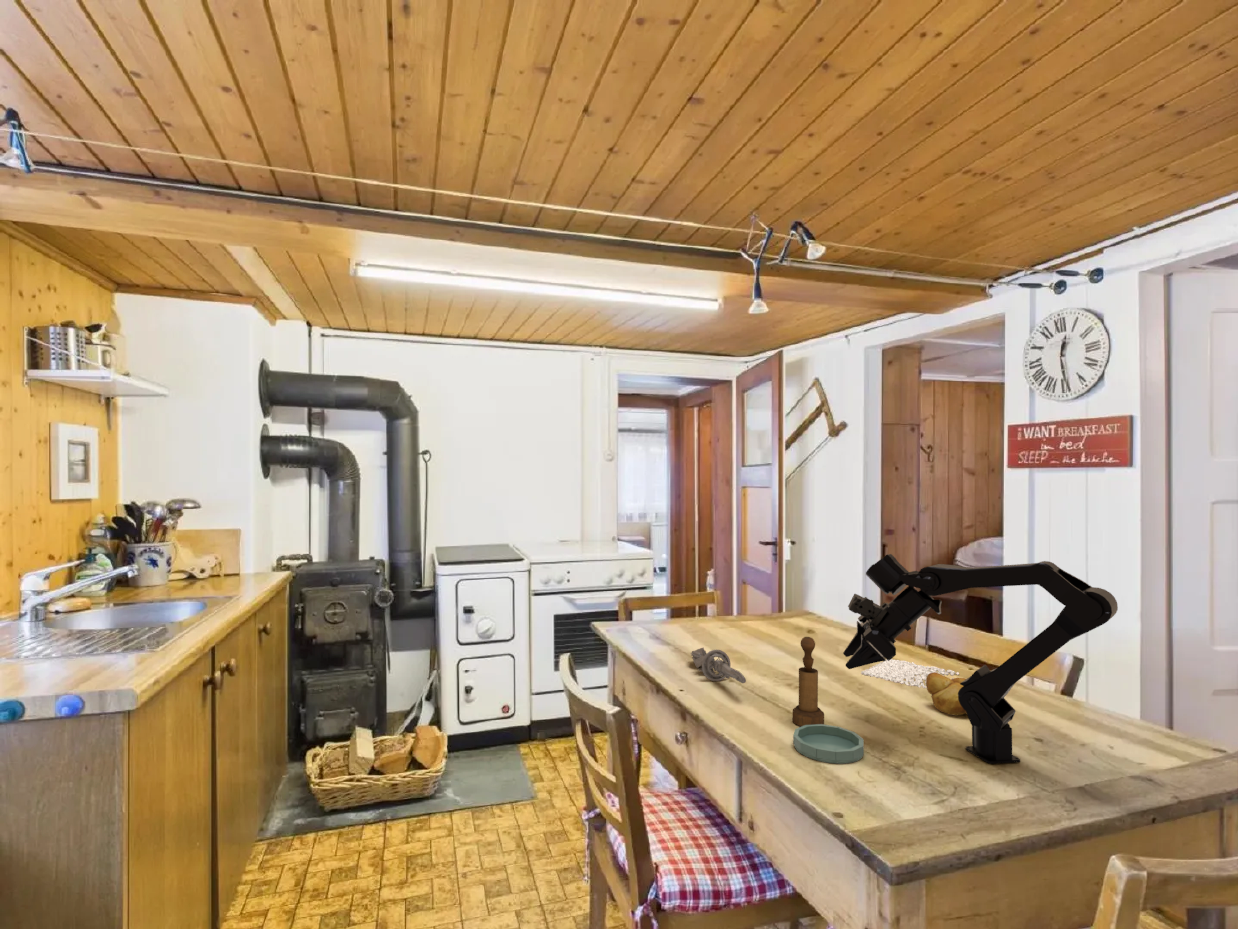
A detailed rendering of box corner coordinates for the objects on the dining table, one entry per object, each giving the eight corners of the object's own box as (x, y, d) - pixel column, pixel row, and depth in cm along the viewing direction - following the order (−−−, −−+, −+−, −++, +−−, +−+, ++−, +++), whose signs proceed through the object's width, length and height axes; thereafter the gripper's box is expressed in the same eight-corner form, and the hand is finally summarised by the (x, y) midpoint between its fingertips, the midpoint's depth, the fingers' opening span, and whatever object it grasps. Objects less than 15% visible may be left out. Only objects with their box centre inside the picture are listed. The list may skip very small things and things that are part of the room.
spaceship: (724, 670, 142) (753, 655, 144) (675, 647, 175) (699, 635, 178) (737, 703, 141) (766, 687, 143) (686, 673, 175) (710, 661, 177)
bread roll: (973, 702, 144) (972, 668, 145) (1003, 718, 135) (1002, 681, 135) (921, 704, 143) (921, 669, 143) (948, 720, 133) (947, 683, 134)
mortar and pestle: (826, 729, 128) (825, 642, 128) (793, 727, 129) (793, 640, 130) (822, 718, 134) (821, 634, 135) (791, 715, 136) (790, 632, 136)
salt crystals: (888, 661, 179) (888, 656, 179) (963, 677, 165) (963, 671, 165) (858, 676, 165) (858, 670, 165) (937, 695, 151) (937, 688, 151)
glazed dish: (877, 761, 113) (876, 749, 113) (811, 765, 111) (811, 753, 112) (842, 734, 126) (842, 723, 126) (783, 737, 124) (783, 726, 124)
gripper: (868, 576, 138) (816, 622, 141) (877, 589, 120) (817, 642, 123) (907, 614, 135) (853, 660, 138) (922, 633, 117) (860, 686, 120)
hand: (845, 661), depth 130 cm, fingers open, 9 cm apart
